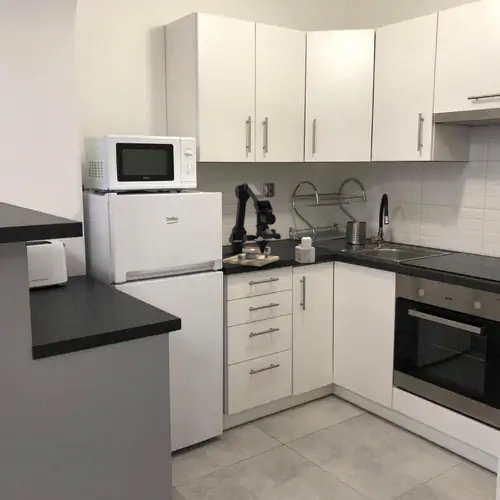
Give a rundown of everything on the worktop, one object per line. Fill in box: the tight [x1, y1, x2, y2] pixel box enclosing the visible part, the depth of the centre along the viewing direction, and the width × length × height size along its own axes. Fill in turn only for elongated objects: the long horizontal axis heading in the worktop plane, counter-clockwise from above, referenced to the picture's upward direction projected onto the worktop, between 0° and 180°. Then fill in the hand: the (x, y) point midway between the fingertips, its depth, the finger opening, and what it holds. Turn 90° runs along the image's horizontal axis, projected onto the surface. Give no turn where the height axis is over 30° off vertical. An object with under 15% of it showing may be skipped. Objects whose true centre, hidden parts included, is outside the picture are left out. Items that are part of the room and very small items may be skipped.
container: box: [294, 236, 316, 264], centre depth 288 cm, size 8×8×13 cm
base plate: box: [222, 252, 280, 267], centre depth 291 cm, size 22×22×5 cm
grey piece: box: [242, 246, 271, 256], centre depth 289 cm, size 16×9×4 cm, turn 58°
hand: (262, 253), depth 283 cm, fingers closed
